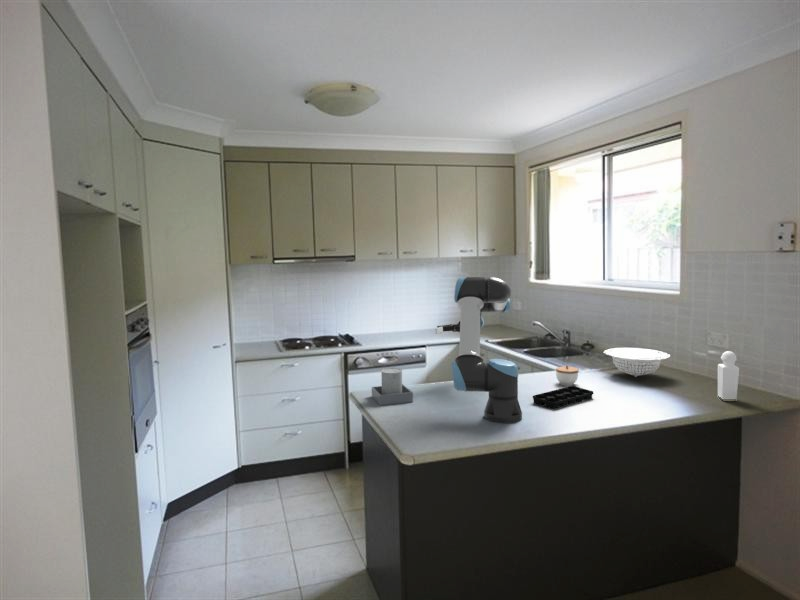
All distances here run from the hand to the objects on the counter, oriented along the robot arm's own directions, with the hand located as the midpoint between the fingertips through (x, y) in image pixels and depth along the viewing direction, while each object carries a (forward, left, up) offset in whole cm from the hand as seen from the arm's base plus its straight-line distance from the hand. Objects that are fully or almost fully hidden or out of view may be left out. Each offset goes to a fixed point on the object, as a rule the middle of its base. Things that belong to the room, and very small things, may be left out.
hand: (449, 332), depth 251 cm
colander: (+42, -94, -29) cm, 107 cm away
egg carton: (-7, -52, -30) cm, 60 cm away
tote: (-15, +25, -29) cm, 41 cm away
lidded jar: (+23, -57, -29) cm, 68 cm away
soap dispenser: (+4, -123, -29) cm, 126 cm away
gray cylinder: (-15, +25, -28) cm, 41 cm away
